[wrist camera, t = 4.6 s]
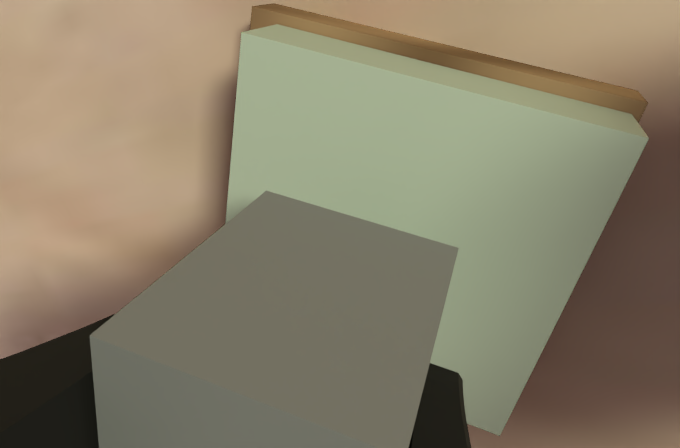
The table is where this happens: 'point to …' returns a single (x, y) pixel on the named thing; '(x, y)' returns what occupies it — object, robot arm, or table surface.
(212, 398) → the grey block
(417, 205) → the grey-green slab
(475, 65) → the walnut slab
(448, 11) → the table surface
